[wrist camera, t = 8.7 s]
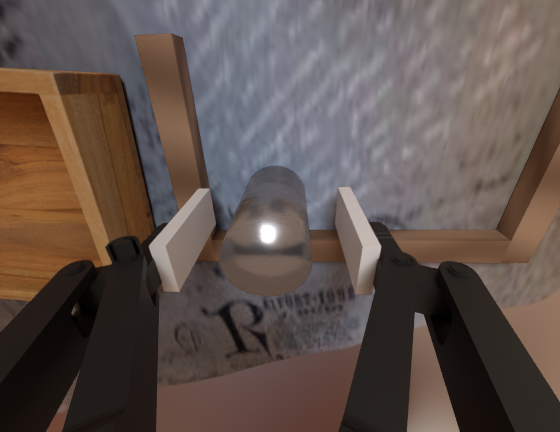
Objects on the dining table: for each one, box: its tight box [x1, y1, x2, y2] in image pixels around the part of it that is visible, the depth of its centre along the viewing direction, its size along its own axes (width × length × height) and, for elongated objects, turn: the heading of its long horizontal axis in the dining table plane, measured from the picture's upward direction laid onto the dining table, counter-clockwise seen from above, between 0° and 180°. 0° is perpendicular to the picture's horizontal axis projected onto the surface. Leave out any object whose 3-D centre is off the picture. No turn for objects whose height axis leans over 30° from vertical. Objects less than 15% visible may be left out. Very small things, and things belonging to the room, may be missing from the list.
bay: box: [134, 34, 560, 263], centre depth 17 cm, size 15×26×2 cm, turn 92°
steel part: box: [219, 166, 312, 296], centre depth 15 cm, size 4×4×8 cm
